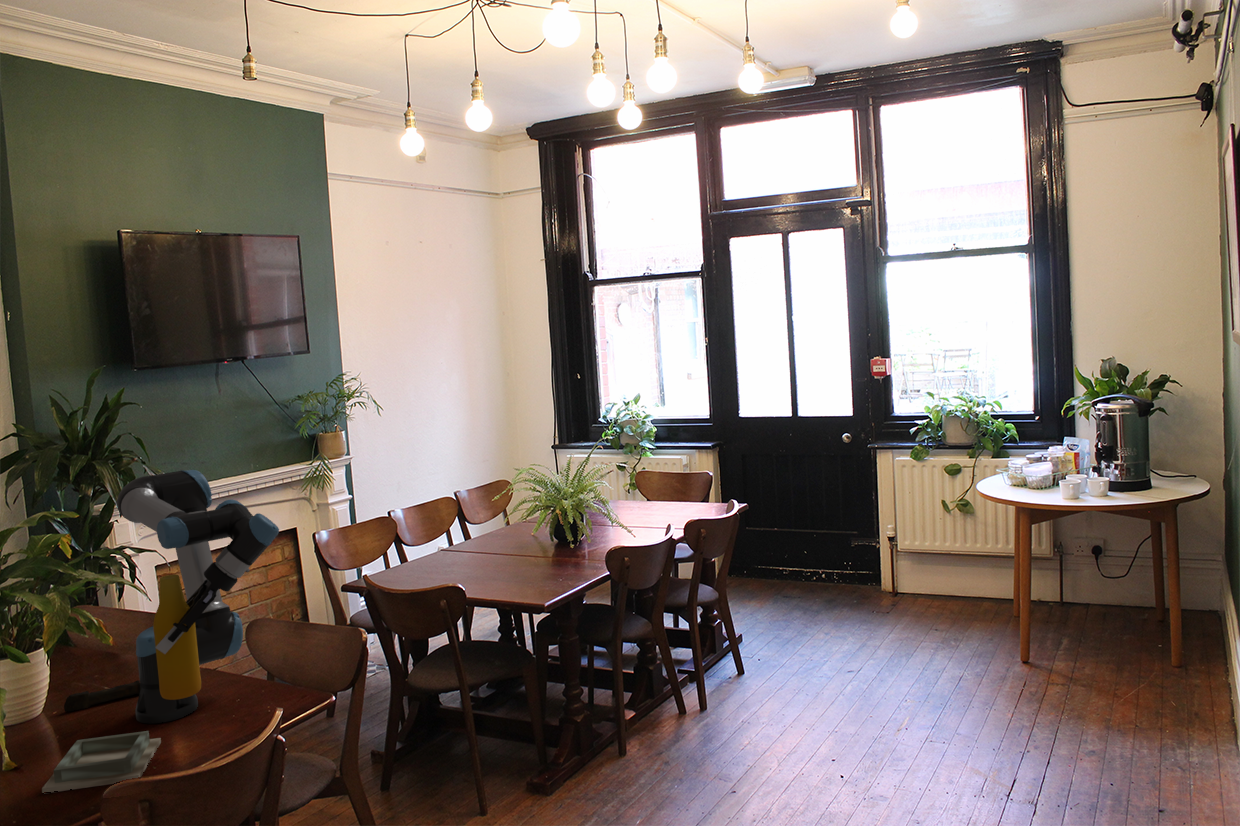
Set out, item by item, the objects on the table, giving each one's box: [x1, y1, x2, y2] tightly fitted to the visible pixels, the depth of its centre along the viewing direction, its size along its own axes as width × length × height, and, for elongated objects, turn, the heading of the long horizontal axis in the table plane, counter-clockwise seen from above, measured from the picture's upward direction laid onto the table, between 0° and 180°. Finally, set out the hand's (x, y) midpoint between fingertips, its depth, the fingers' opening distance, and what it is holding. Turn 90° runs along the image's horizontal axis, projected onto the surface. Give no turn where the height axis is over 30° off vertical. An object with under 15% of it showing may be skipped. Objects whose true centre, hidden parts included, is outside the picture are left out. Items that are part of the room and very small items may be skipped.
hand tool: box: [63, 679, 141, 712], centre depth 264 cm, size 19×4×5 cm, turn 125°
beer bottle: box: [152, 574, 202, 700], centre depth 230 cm, size 9×9×29 cm
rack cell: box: [41, 730, 162, 794], centre depth 224 cm, size 20×20×4 cm
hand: (161, 644), depth 228 cm, fingers closed on beer bottle, 9 cm apart
